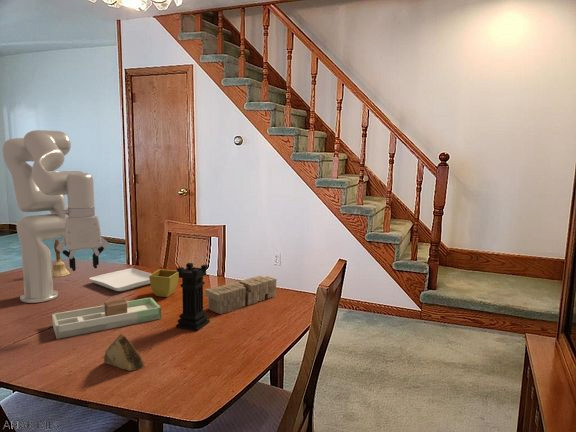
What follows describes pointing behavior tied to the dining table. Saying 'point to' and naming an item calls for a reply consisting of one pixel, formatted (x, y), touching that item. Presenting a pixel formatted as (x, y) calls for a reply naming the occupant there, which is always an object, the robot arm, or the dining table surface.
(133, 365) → the rock
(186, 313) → the chess piece
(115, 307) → the walnut block
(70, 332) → the tray
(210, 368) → the dining table surface
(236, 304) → the block tower
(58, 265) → the hand bell
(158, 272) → the flower pot
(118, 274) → the salad plate
